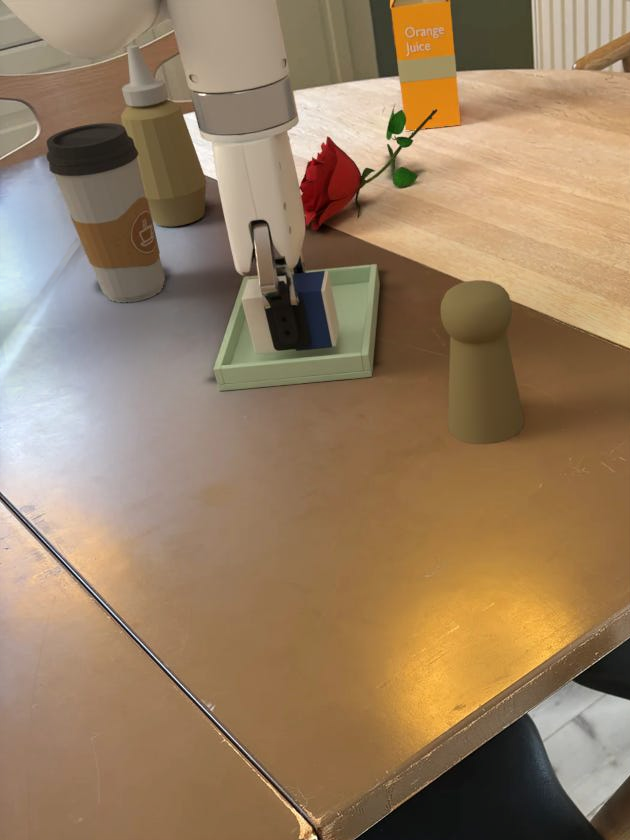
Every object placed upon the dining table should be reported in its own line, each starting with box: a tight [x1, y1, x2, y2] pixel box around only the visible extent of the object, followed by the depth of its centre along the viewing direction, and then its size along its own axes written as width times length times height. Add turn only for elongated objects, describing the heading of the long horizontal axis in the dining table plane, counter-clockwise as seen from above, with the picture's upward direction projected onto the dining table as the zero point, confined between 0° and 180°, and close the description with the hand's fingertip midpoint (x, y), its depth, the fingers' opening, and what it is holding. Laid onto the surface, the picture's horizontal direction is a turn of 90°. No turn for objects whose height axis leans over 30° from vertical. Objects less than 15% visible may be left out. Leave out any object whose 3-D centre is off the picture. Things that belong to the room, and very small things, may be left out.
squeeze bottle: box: [120, 44, 207, 227], centre depth 114 cm, size 8×8×18 cm
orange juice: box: [389, 0, 461, 131], centre depth 134 cm, size 8×9×20 cm
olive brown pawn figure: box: [439, 279, 525, 445], centre depth 76 cm, size 6×6×11 cm
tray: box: [213, 263, 381, 392], centre depth 93 cm, size 13×19×2 cm
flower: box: [299, 104, 437, 231], centre depth 118 cm, size 9×10×30 cm
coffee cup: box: [46, 122, 166, 304], centre depth 100 cm, size 8×8×15 cm
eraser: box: [242, 271, 339, 354], centre depth 87 cm, size 7×4×5 cm, turn 92°
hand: (295, 332), depth 88 cm, fingers closed on eraser, 4 cm apart
